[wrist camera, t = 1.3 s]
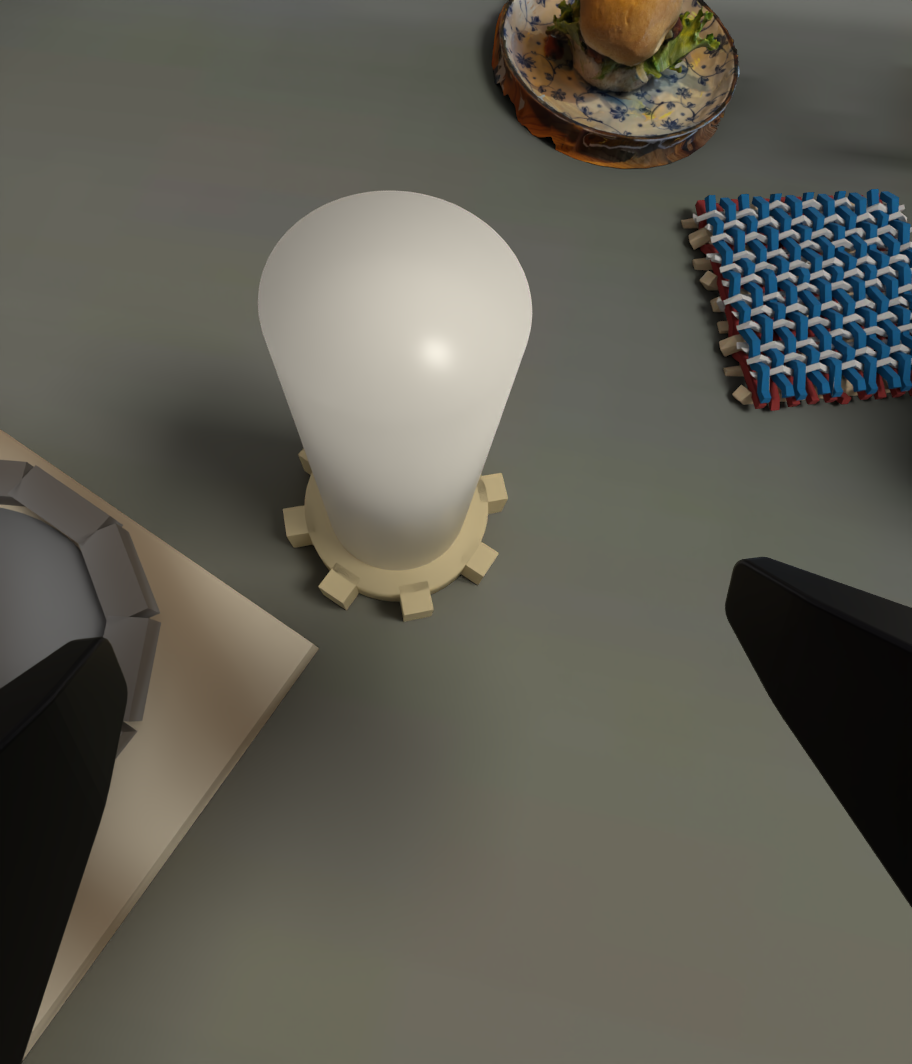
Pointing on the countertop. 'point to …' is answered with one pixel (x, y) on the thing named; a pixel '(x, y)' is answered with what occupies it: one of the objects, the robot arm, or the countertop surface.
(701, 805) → the countertop surface
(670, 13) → the burger
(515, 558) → the countertop surface
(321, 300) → the gear spindle
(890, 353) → the woven mat
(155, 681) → the gear board
